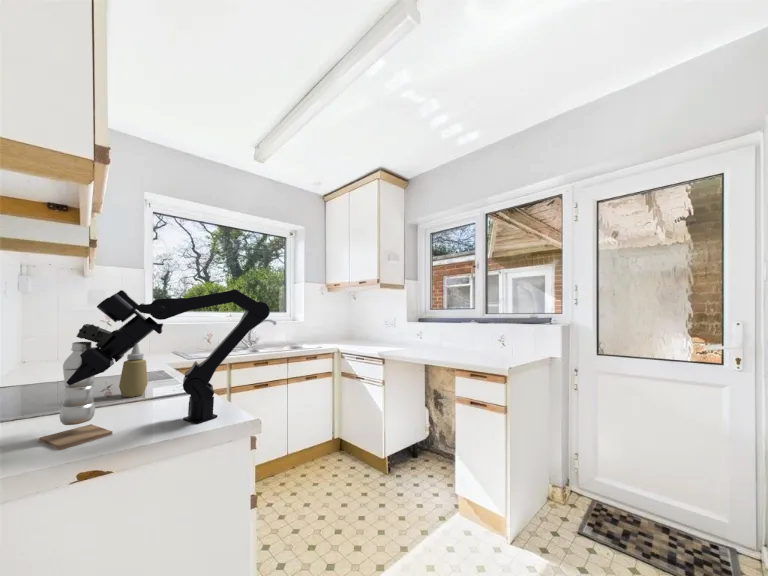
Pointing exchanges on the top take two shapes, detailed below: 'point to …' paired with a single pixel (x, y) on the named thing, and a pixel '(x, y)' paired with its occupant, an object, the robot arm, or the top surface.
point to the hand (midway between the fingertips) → (72, 380)
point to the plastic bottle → (77, 390)
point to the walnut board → (75, 436)
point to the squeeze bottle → (133, 374)
